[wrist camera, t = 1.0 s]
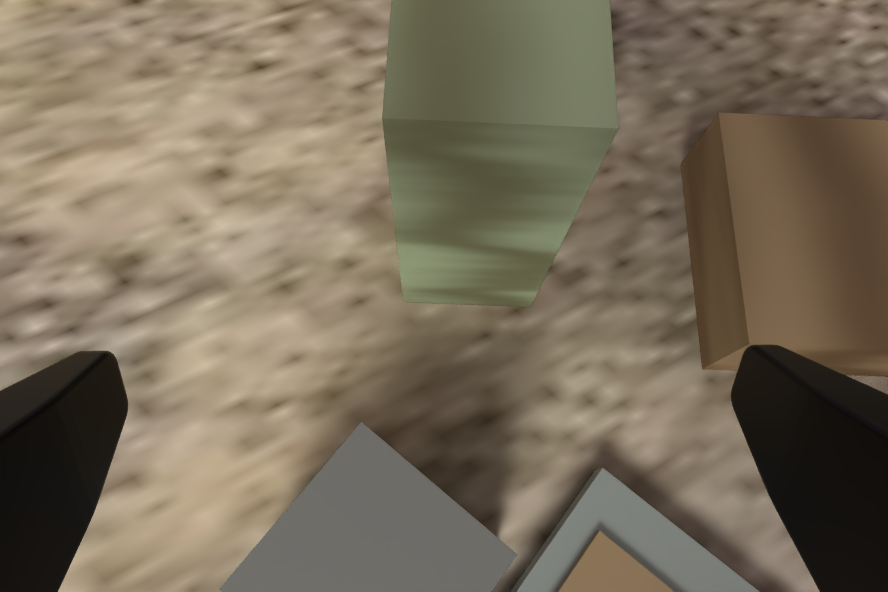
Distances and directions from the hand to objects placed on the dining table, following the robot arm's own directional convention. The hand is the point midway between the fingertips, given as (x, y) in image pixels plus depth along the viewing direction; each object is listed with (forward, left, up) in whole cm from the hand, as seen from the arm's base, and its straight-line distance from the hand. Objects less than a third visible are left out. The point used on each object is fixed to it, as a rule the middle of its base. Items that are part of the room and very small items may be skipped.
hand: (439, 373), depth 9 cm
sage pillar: (+4, -7, -14) cm, 17 cm away
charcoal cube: (-1, +4, -14) cm, 15 cm away
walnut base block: (-7, -15, -15) cm, 22 cm away
